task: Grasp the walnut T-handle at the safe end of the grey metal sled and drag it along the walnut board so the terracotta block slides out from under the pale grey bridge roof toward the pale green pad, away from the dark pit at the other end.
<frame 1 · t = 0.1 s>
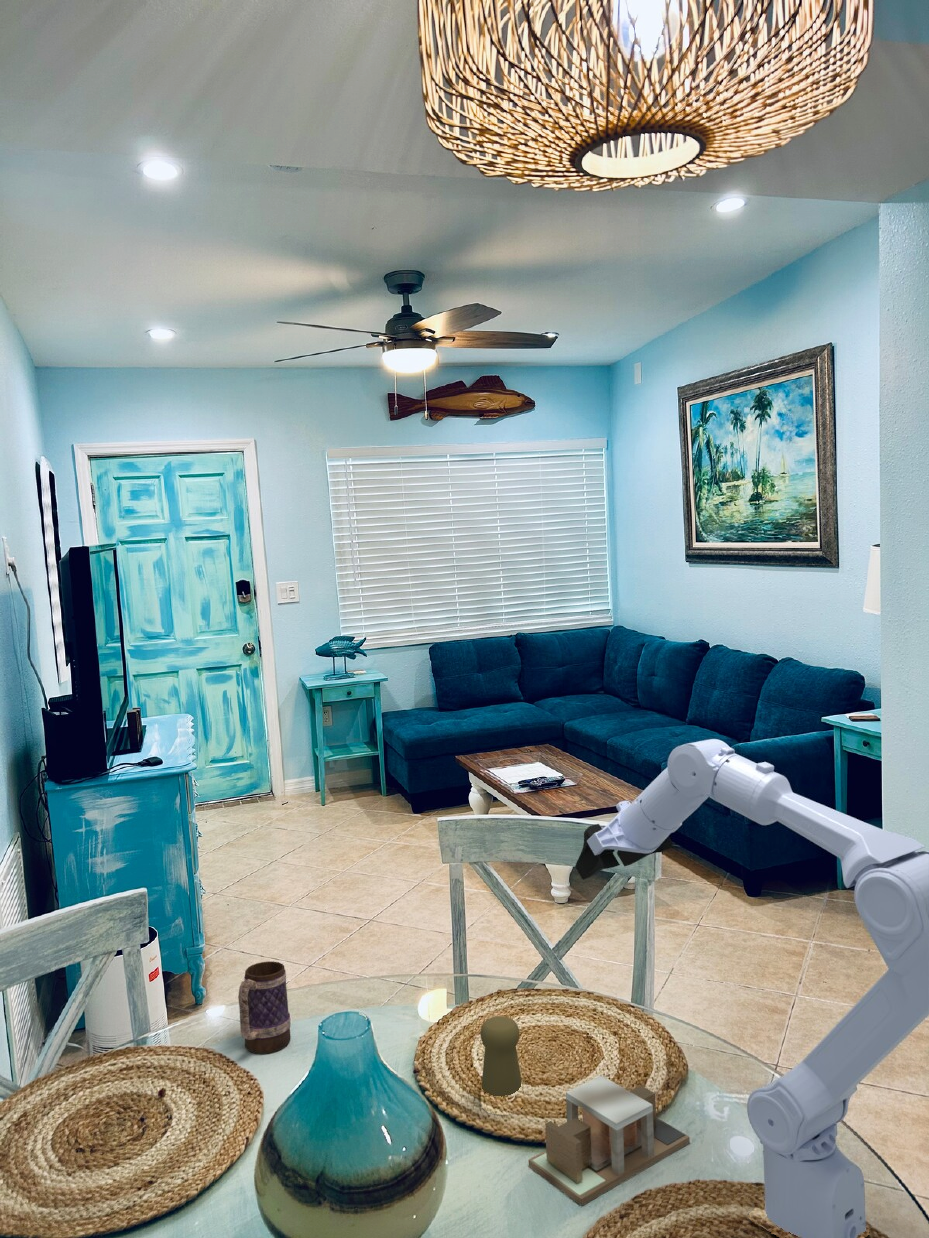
hand: (601, 865, 115), 32 cm above the table, tool tilted 50°, fingers open, 7 cm apart
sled: (606, 1127, 106), point 3 cm above the table, slide at 0.0 cm
mug: (262, 1049, 136), on the table
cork: (502, 1103, 118), on the table
tunnel board: (610, 1154, 106), on the table
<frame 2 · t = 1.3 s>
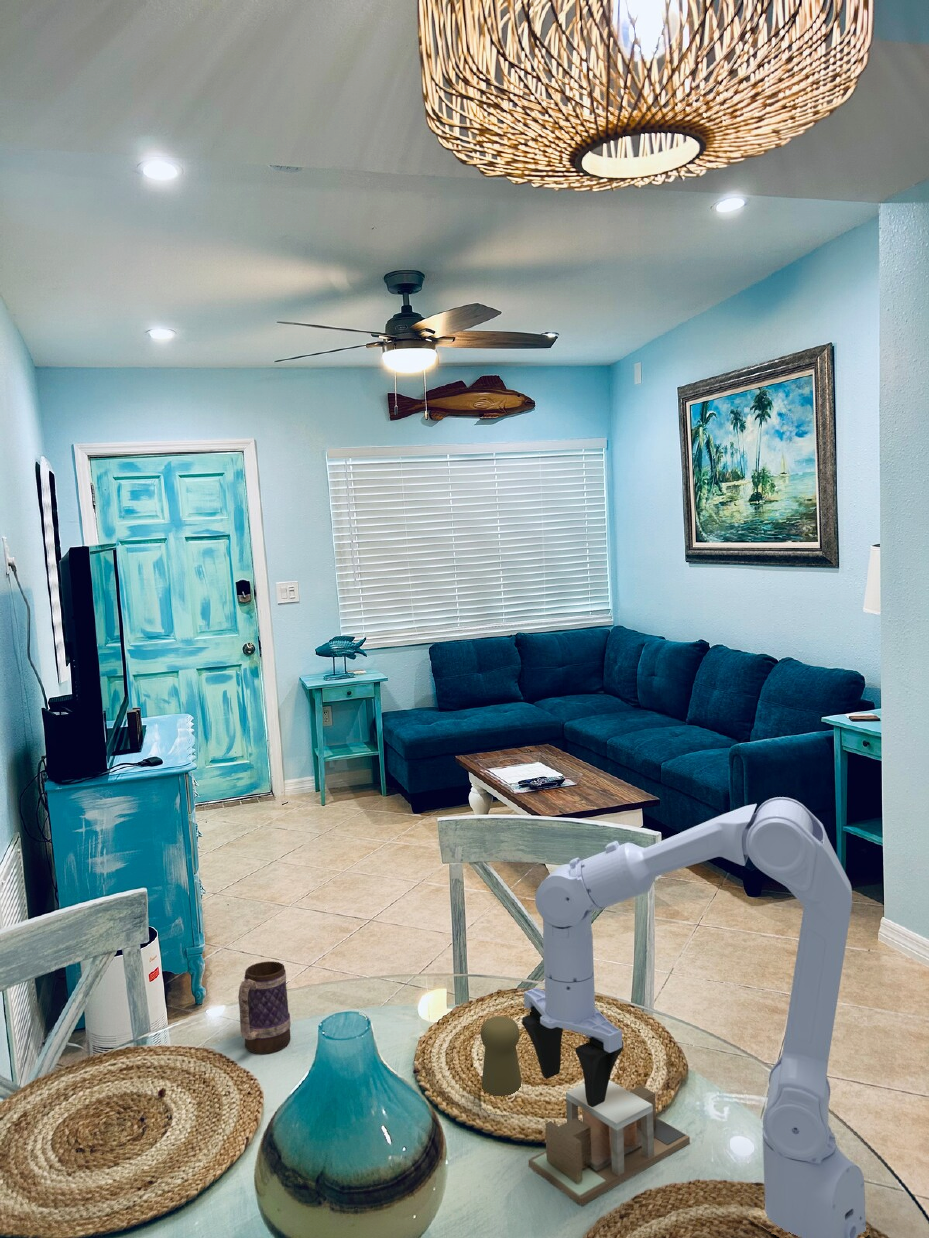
hand: (573, 1088, 103), 10 cm above the table, tool pointing down, fingers open, 7 cm apart
nothing on the table moved.
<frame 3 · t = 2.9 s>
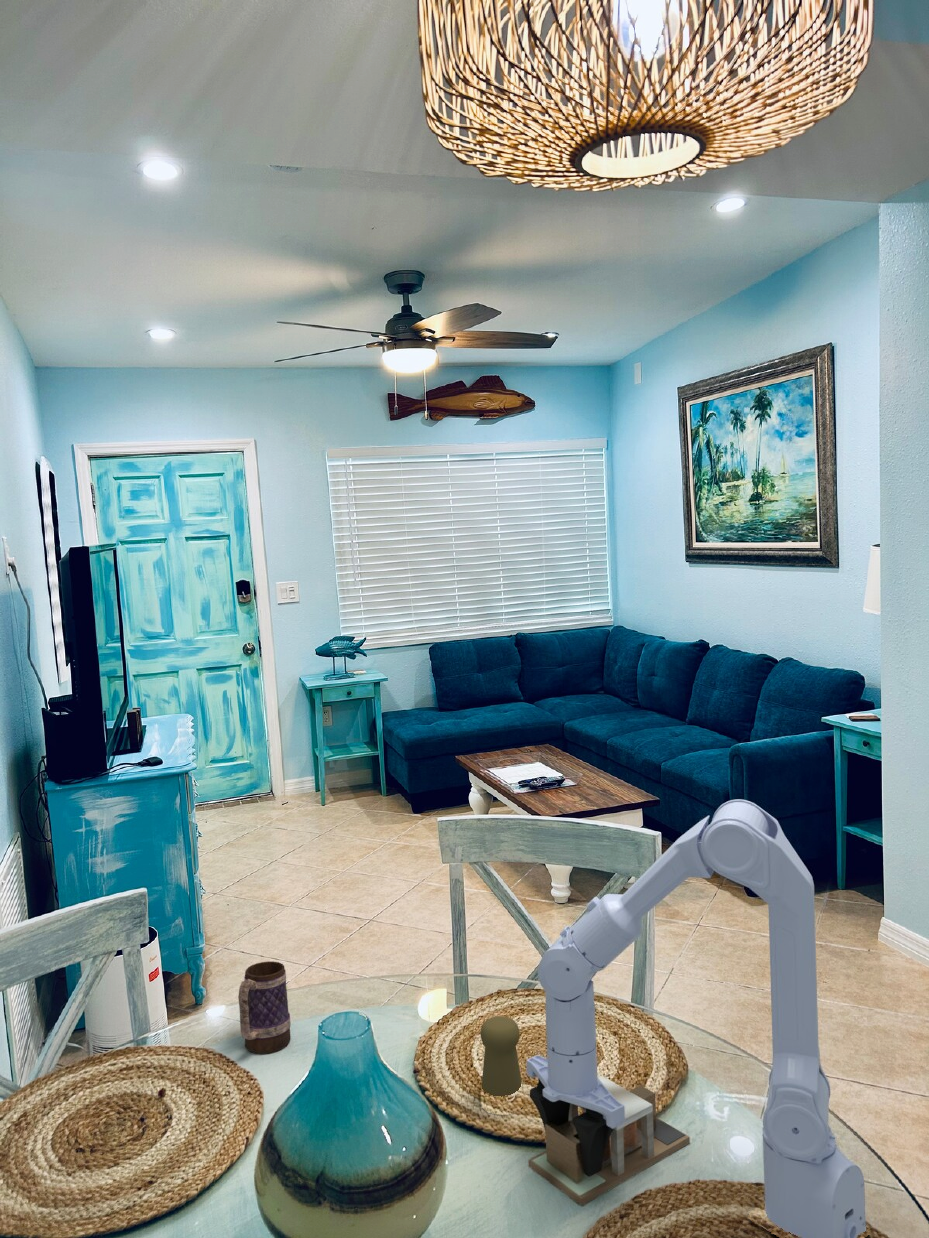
hand: (575, 1159, 103), 2 cm above the table, tool pointing down, fingers closed on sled, 5 cm apart
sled: (606, 1127, 106), point 3 cm above the table, slide at 0.0 cm, touching gripper
everything else where it was.
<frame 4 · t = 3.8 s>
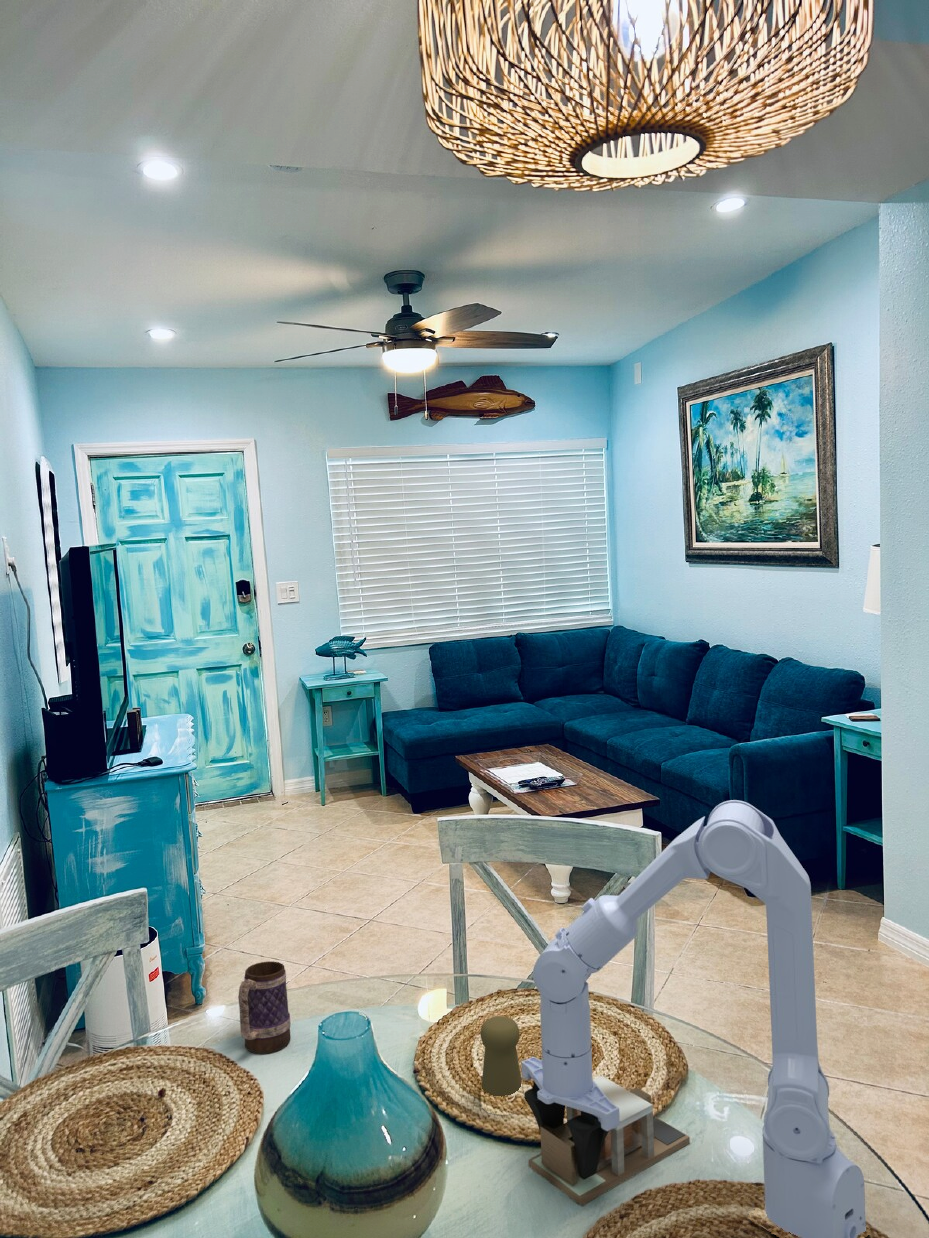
hand: (570, 1162, 103), 2 cm above the table, tool pointing down, fingers closed on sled, 5 cm apart
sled: (601, 1130, 106), point 3 cm above the table, slide at 0.8 cm, touching gripper
everything else where it was.
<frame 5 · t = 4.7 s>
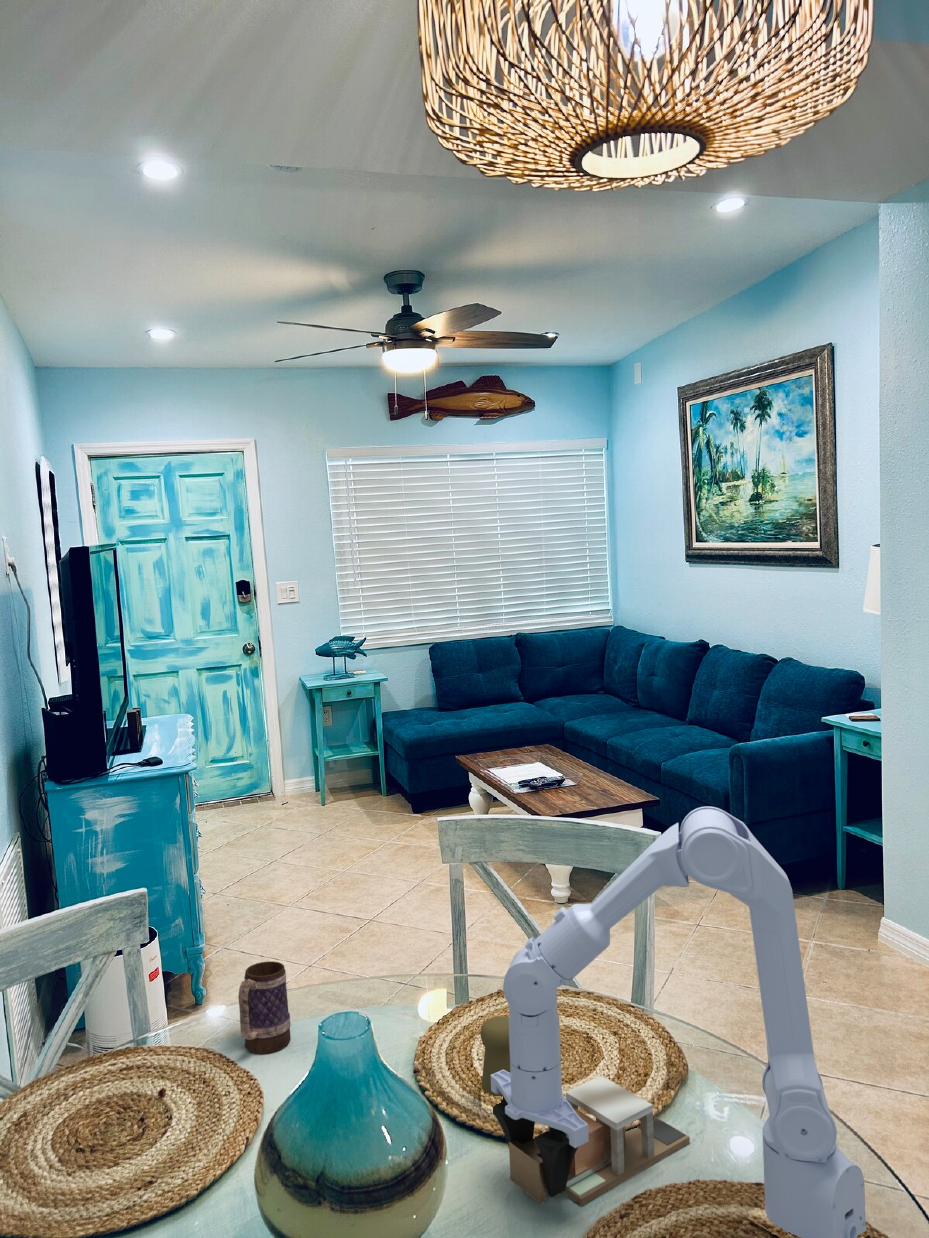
hand: (539, 1178, 100), 2 cm above the table, tool pointing down, fingers closed on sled, 5 cm apart
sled: (572, 1145, 103), point 3 cm above the table, slide at 5.5 cm, touching gripper
everything else where it was.
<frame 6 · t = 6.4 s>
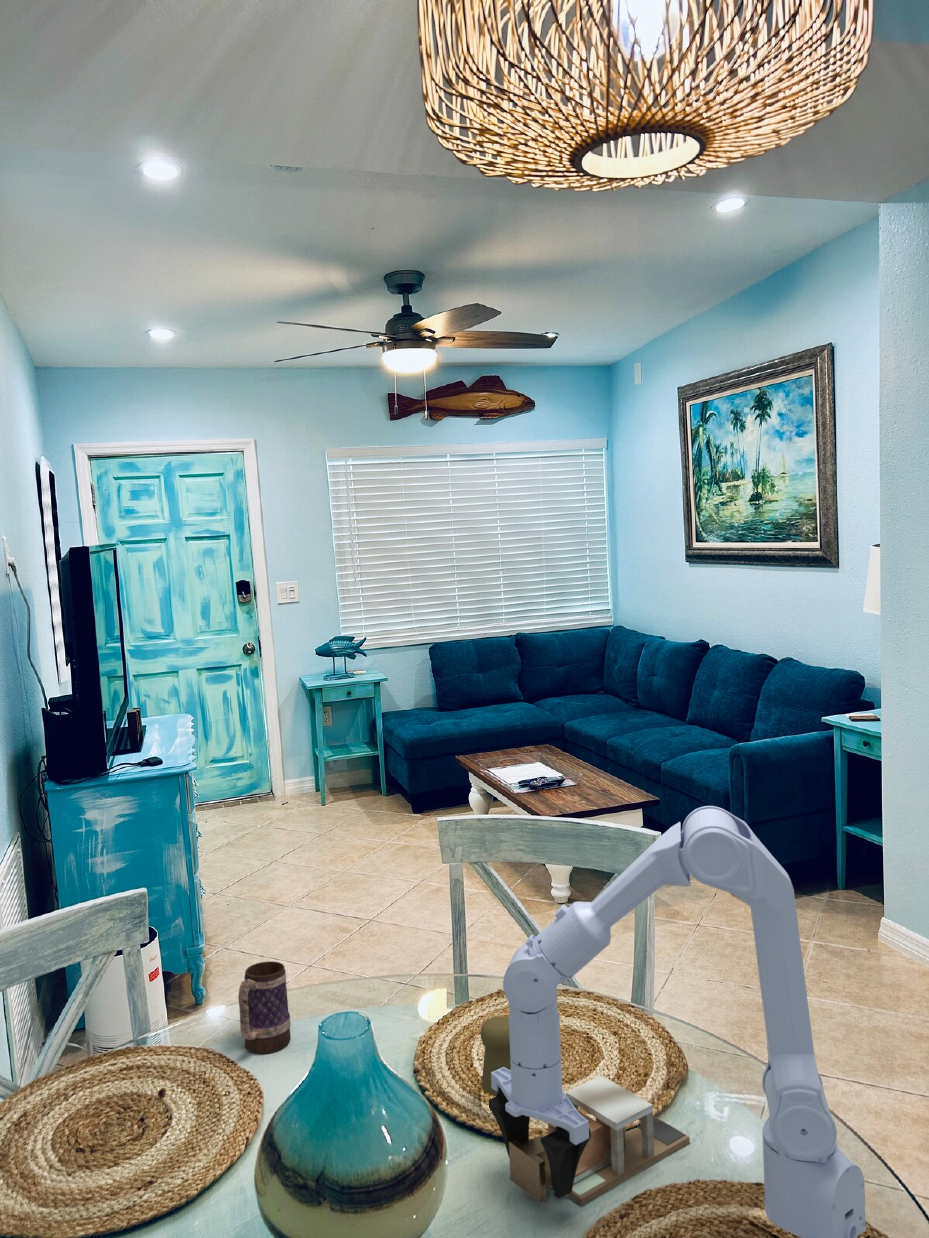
hand: (540, 1176, 100), 2 cm above the table, tool pointing down, fingers open, 7 cm apart
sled: (572, 1145, 103), point 3 cm above the table, slide at 5.5 cm
everything else where it was.
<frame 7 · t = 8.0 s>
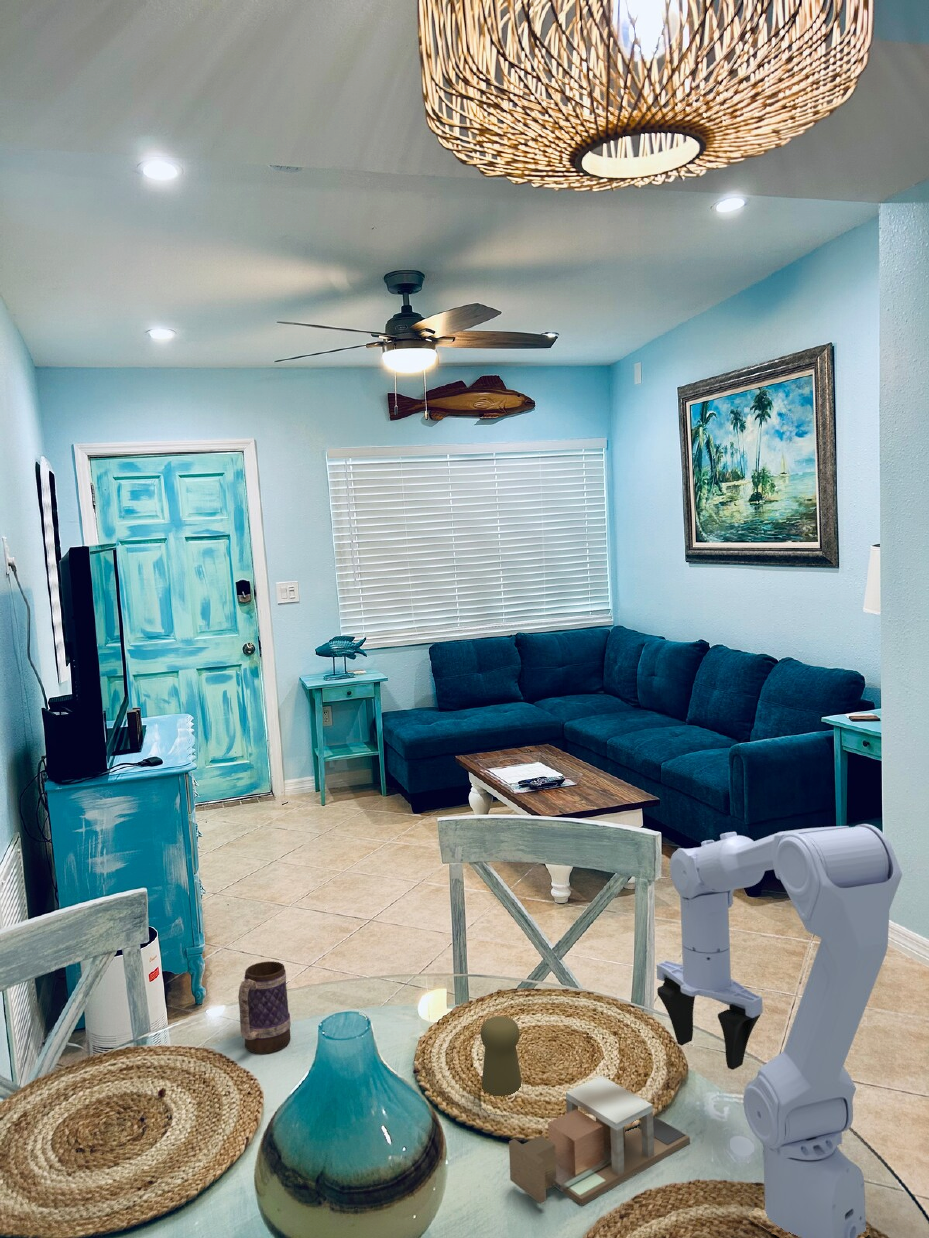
hand: (709, 1053, 110), 10 cm above the table, tool pointing down, fingers open, 7 cm apart
nothing on the table moved.
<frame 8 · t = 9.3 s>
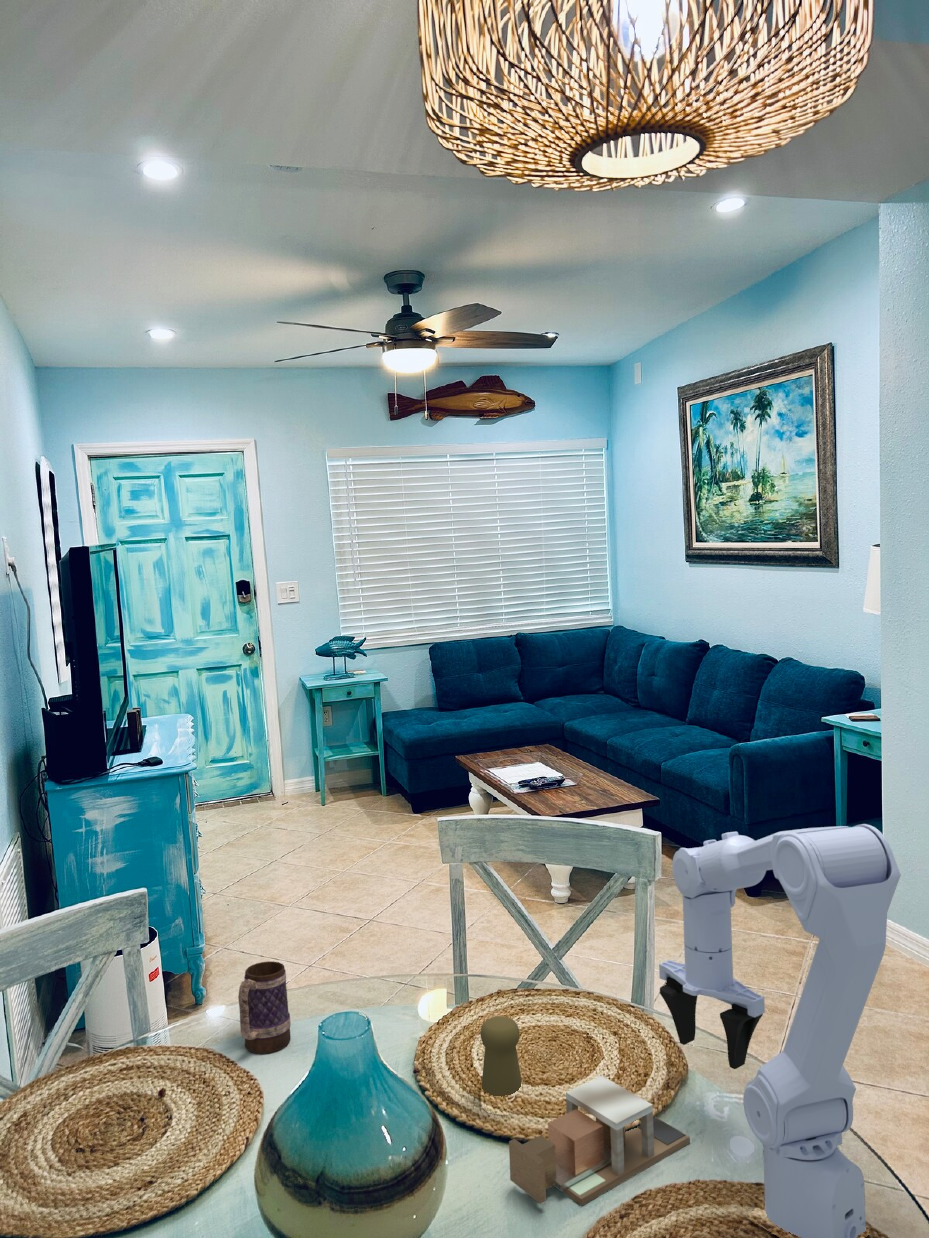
hand: (711, 1053, 110), 10 cm above the table, tool pointing down, fingers open, 7 cm apart
nothing on the table moved.
at the end: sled slide at 5.5 cm; the gripper is holding nothing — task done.
